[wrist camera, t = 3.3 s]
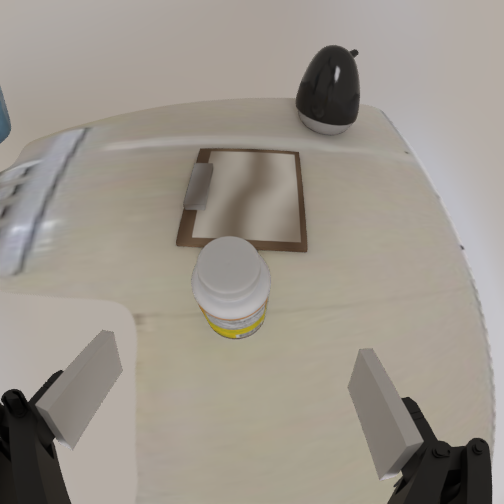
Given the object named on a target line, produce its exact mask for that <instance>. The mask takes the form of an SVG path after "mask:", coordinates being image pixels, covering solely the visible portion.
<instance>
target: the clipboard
mask: <svg viewBox="0 0 504 504" xmlns="http://www.w3.org/2000/svg"><path fill="white" fill-rule="evenodd" d="M183 205H184V210H183V214H182V218H181V222H180V227H179V231H178V235H177V240H176V245H177V246H188V247H205V246H206V245H207V244H208V243H209V242H211V241H213V240H215V239H217V238H220V237H225V236H233V237H239V238H242V239H244V240H246V241H248V242H249V243H250V244H252V245H253V246H254V248H255V249H256V250H271V251H292V252H307V250H308V248H307V233H306V220H305V208H304V196H303V186H302V176H301V167H300V158H299V152H291V151H277V150H258V149H200V152H199V155H198V158H197V162H196V163H195V164H194V167H193V171H192V174H191V178H190V181H189V185H188V189H187V192H186V196H185V200H184V204H183Z"/></svg>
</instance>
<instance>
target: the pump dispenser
mask: <svg viewBox="0 0 504 504" xmlns="http://www.w3.org/2000/svg"><path fill="white" fill-rule="evenodd" d="M357 55H358V51H357V50H355V49H354V50H352V51H348V50H347V49H345V48H343V47H341V46H337V45H330V46H326V47H324V48H322V49H321V50H320V51H319V52H318V53H317V54H316V55H315V56H314V58H313V59H312V61H311V62H310V64H309V66H308V68H307V70H306V72H305V74H304V76H303V78H302V81H301V83H300V86H299V90H298V93H297V97H296V107H297V109H298V114H299V116H300V119H301V120H302V122H303V123H304V124H305V125H306V126H307V127H308V128H310V129H311V130H313V131H315V132H318V133H321V134H326V135H335V134H340V133H342V132H344V131H346V130H347V129H348V128H349V127H350V126H351V125H352V123H353V122H355V120H356V119H357V115H358V110H359V101H360V85H359V75H358V70H357V66H356V63H355V60H354V57H356V56H357Z"/></svg>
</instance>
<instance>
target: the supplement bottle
mask: <svg viewBox="0 0 504 504" xmlns="http://www.w3.org/2000/svg"><path fill="white" fill-rule="evenodd" d="M191 284H192V291H193V294H194V296H195V299H196V301H197V302H198V304H199V306H200V309H201V310H202V312H203V314H204V315H205V317H206V319H207V321H208V323H209V324H210V326H211V328H212V329H213V330H214V331H215V332H216V333H218V334H219V335H221V336H223V337H225V338H229V339H243V338H246V337H249V336H251V335H252V334H254V333H255V332H256V331H257V330H258V329H259V328H260V327H261V325H262V323H263V321H264V318H265V314H266V309H267V303H268V298H269V292H270V287H271V275H270V271H269V268H268V266H267V264H266V262H265V261H264V259H263V258H262V257H261V256H260V255H259V254H258V252H257V250H256V249H255V248H254V246H253V245H252V244H250V243H249V242H248V241H246V240H244V239H242V238H239V237H233V236H225V237H220V238H217V239H215V240H213V241H211V242H209V243H208V244H207V245H206V246H205V247H204V248H203V249H202V250H201V252H200V254H199V256H198V259H197V264H196V265H195V268H194V270H193V273H192V279H191Z"/></svg>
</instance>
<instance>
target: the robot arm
mask: <svg viewBox="0 0 504 504" xmlns="http://www.w3.org/2000/svg"><path fill="white" fill-rule="evenodd" d="M10 131H11V124H10V119H9V115H8V111H7V107H6V104H5V100H4V97H3V94H2V90H1V87H0V143H1V142H3V141H4V140H5V139H6V138H7V137H8V135H9V133H10ZM122 371H123V369H122V366H121V362H120V358H119V354H118V350H117V346H116V341H115V337H114V332H110V331H105V330H102V331H101V332H100V333H99V334H98V335H97V336H96V337H95V338H94V339H93V340H92V341H91V342H90V344H89V345H88V346H87V347H86V348H85V349H84V350H83V351H82V352H81V353H80V355H78V356H77V357H76V359H75V360H74V361H73V362H72V363H71V364H70V365H69V366H68V367H67V369H66V370H65V371H62V370H60V371H58V372H56V373H54V374H53V375H52V376H51V377H50V378H49V379H48V381H47V382H45V384H44V385H43V387H41V388H40V389H39V391H37V392H36V394H35V395H34V396H33V397H32V398H31V399H30V401H29V402H27V400H26V398H25V396H24V394H23V393H22V392H21V391H19V390H17V389H11V390H8V391H7V392H5V393H4V394H3V396H2V398H1V401H2V402H3V404H4V405H2V404H1V403H0V504H71V502H70V499H69V496H68V493H67V490H66V487H65V483H64V480H63V477H62V473H61V470H60V466H59V462H58V458H57V453H56V449H55V445H54V443H53V439H54V438H56V439H57V440H58V442H59V443H60V444H61V445H63V446H65V447H67V448H69V449H71V450H73V449H74V447H75V445H76V444H77V442H78V440H79V439H80V437H81V435H82V434H83V432H84V431H85V429H86V427H87V426H88V424H89V422H90V421H91V419H92V417H93V416H94V414H95V413H96V411H97V409H98V408H99V406H100V405H101V403H102V402H103V400H104V399H105V397H106V395H107V394H108V392H109V391H110V389H111V388H112V386H113V385H114V383H115V382H116V380H117V379H118V377H119V376H120V374H121V373H122ZM348 390H349V392H350V395H351V398H352V400H353V403H354V406H355V409H356V412H357V414H358V417H359V420H360V423H361V426H362V429H363V431H364V434H365V437H366V440H367V443H368V446H369V449H370V452H371V455H372V458H373V461H374V464H375V467H376V471H377V474H378V477H379V480H384V479H388V478H392V477H395V476H396V475H397V474H398V473H399V472H400V470H401V471H402V474H403V476H402V477H401V478H400V479H399V480H398V482H397V483H396V484H395V485H394V486H393V487H396V486H397V487H396V489H395V490H394V492H393V494H392V496H391V498H390V500H389V501H388V503H387V504H492V473H491V460H490V451H489V446H488V444H487V442H486V441H485V440H483V439H481V438H473V439H472V440H470V441H469V442H468V444H467V445H466V446H459V447H451V446H450V445H449V444H448V443H446V442H444V441H438V440H437V438H436V437H435V435H434V433H433V431H432V429H431V427H430V426H429V424H428V422H427V420H426V419H425V418H424V415H423V413H422V412H421V410H420V408H419V407H418V405H417V403H416V402H415V401H413V400H412V399H411V398H410V397H406V398H401V397H400V396H399V394H398V392H397V390H396V388H395V387H394V385H393V383H392V381H391V380H390V378H389V376H388V374H387V373H386V371H385V369H384V367H383V366H382V364H381V362H380V361H379V359H378V357H377V355H376V354H375V352H374V350H373V349H359V353H358V356H357V360H356V363H355V366H354V369H353V373H352V376H351V379H350V382H349V385H348Z"/></svg>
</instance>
